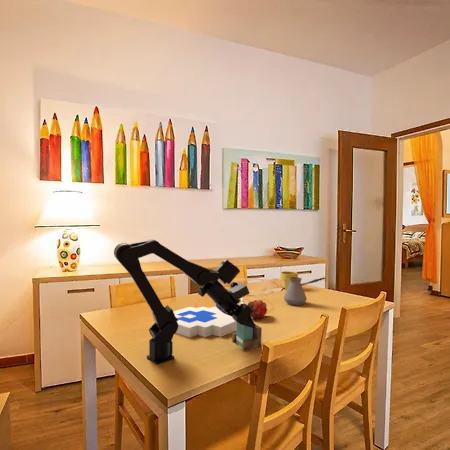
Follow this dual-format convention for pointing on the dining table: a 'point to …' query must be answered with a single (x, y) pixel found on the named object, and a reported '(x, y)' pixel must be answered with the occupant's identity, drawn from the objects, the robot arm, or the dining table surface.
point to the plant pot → (287, 277)
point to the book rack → (252, 343)
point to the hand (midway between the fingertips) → (248, 323)
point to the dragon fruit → (258, 308)
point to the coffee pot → (297, 291)
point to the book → (243, 334)
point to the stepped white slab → (204, 322)
